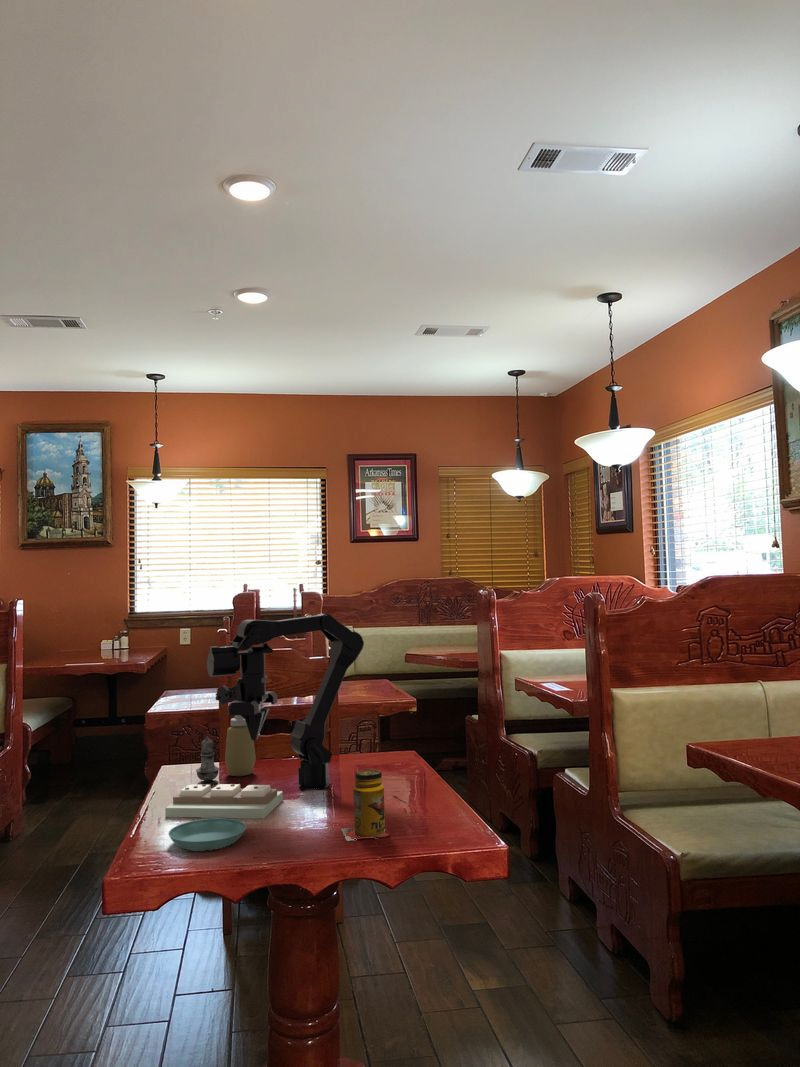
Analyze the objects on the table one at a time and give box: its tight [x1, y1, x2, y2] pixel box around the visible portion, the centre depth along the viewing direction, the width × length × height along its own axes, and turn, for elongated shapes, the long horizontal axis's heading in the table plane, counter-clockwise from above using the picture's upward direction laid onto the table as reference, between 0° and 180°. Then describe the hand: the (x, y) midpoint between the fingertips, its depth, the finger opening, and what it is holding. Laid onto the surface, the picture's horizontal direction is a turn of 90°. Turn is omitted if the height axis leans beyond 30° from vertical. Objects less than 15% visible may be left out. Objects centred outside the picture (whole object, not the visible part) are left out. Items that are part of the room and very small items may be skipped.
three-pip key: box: [179, 784, 212, 796], centre depth 179 cm, size 5×5×3 cm
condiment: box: [341, 768, 386, 842], centre depth 158 cm, size 7×8×12 cm
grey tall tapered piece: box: [195, 735, 221, 787], centre depth 201 cm, size 6×6×12 cm
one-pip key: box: [241, 784, 271, 797], centre depth 177 cm, size 5×5×3 cm
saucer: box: [168, 818, 247, 852], centre depth 156 cm, size 15×15×3 cm
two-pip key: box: [211, 783, 241, 797], centre depth 178 cm, size 5×5×3 cm
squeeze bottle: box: [224, 715, 257, 777], centre depth 210 cm, size 8×8×18 cm
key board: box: [164, 787, 284, 819], centre depth 178 cm, size 22×14×3 cm, turn 82°
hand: (254, 740), depth 188 cm, fingers closed
